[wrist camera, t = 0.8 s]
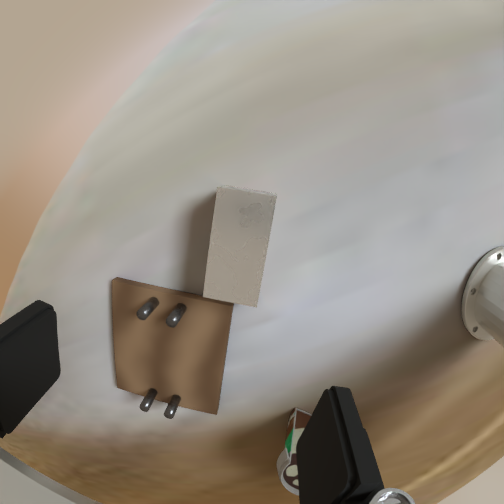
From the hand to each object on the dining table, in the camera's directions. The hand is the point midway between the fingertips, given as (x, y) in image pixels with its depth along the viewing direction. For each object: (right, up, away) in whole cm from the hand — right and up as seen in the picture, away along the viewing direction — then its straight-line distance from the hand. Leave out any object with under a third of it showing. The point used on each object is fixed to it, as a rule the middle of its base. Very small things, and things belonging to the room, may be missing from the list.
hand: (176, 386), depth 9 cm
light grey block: (+2, +6, +23) cm, 24 cm away
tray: (-8, -8, +26) cm, 29 cm away
